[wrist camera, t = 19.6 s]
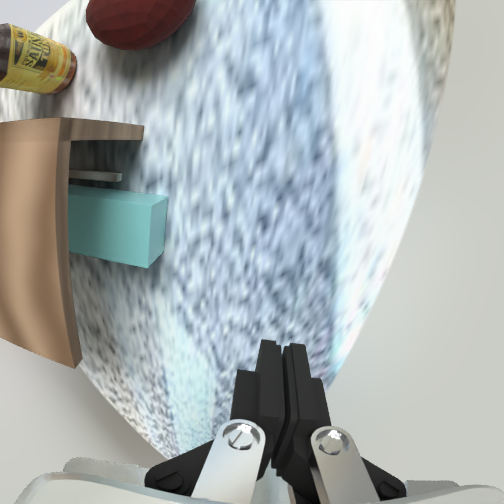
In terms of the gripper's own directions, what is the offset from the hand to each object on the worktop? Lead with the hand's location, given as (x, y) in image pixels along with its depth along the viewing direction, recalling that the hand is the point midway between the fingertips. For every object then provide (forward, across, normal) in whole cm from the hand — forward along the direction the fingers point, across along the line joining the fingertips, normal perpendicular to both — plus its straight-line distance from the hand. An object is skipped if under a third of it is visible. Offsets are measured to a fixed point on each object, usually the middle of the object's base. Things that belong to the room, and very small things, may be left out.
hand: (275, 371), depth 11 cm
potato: (+21, +16, -23) cm, 35 cm away
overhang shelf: (+21, +22, 0) cm, 30 cm away
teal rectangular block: (+21, +19, 0) cm, 28 cm away
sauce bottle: (+21, +27, -17) cm, 38 cm away
